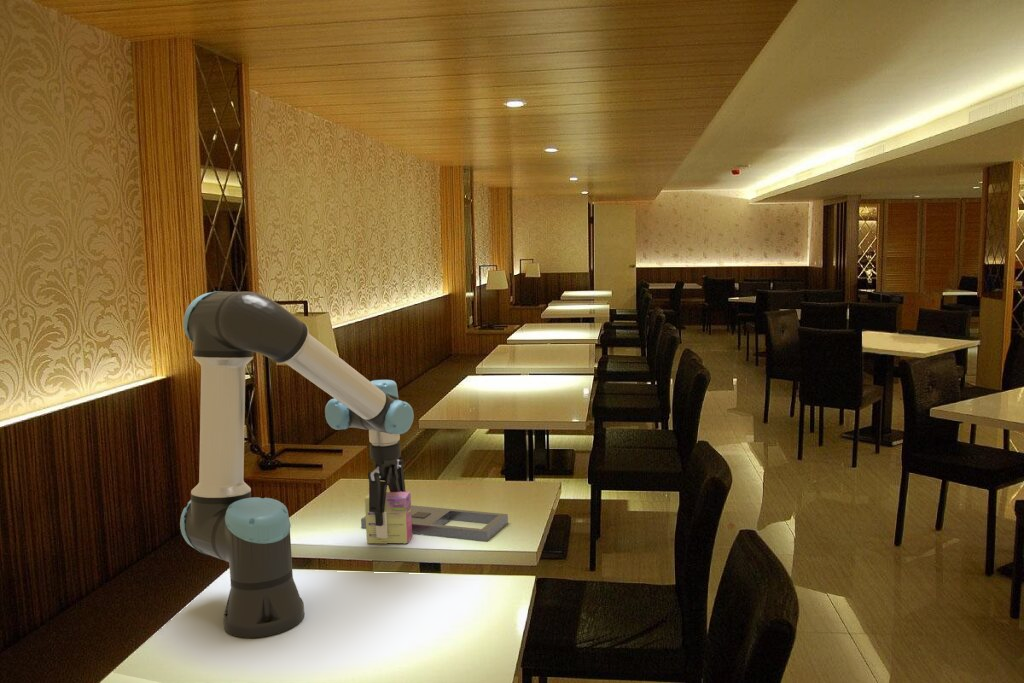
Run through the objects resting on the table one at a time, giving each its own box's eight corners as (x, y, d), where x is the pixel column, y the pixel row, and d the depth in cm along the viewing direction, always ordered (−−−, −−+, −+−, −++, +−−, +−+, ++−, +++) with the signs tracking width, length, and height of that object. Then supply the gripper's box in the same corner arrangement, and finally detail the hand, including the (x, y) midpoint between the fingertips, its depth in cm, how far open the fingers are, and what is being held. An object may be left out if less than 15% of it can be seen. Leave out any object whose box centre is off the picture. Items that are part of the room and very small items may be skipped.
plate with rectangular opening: (487, 541, 197) (486, 531, 197) (361, 528, 210) (361, 518, 210) (508, 523, 210) (507, 513, 210) (388, 511, 223) (388, 502, 223)
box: (412, 536, 203) (410, 491, 201) (407, 544, 197) (405, 497, 196) (373, 536, 204) (370, 491, 202) (366, 544, 198) (364, 498, 197)
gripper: (377, 452, 187) (382, 547, 190) (417, 434, 205) (421, 521, 208) (350, 450, 190) (355, 544, 192) (391, 433, 208) (395, 518, 210)
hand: (389, 532), depth 200 cm, fingers closed on box, 7 cm apart
